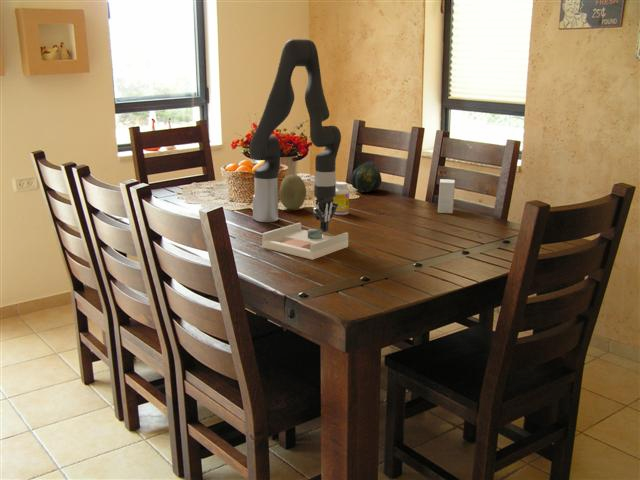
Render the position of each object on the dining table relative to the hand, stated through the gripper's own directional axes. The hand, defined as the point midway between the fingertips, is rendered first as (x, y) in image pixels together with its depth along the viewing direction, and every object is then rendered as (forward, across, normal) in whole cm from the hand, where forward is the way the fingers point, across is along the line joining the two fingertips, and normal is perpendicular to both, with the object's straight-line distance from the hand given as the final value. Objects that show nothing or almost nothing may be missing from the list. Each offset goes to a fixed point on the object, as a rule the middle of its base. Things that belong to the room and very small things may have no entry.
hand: (324, 231), depth 254 cm
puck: (+1, +6, 0) cm, 6 cm away
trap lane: (+4, +11, 0) cm, 11 cm away
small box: (+4, -70, +11) cm, 71 cm away
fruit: (+4, -31, -40) cm, 50 cm away
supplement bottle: (+4, -38, -20) cm, 43 cm away
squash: (+4, -83, -38) cm, 91 cm away
